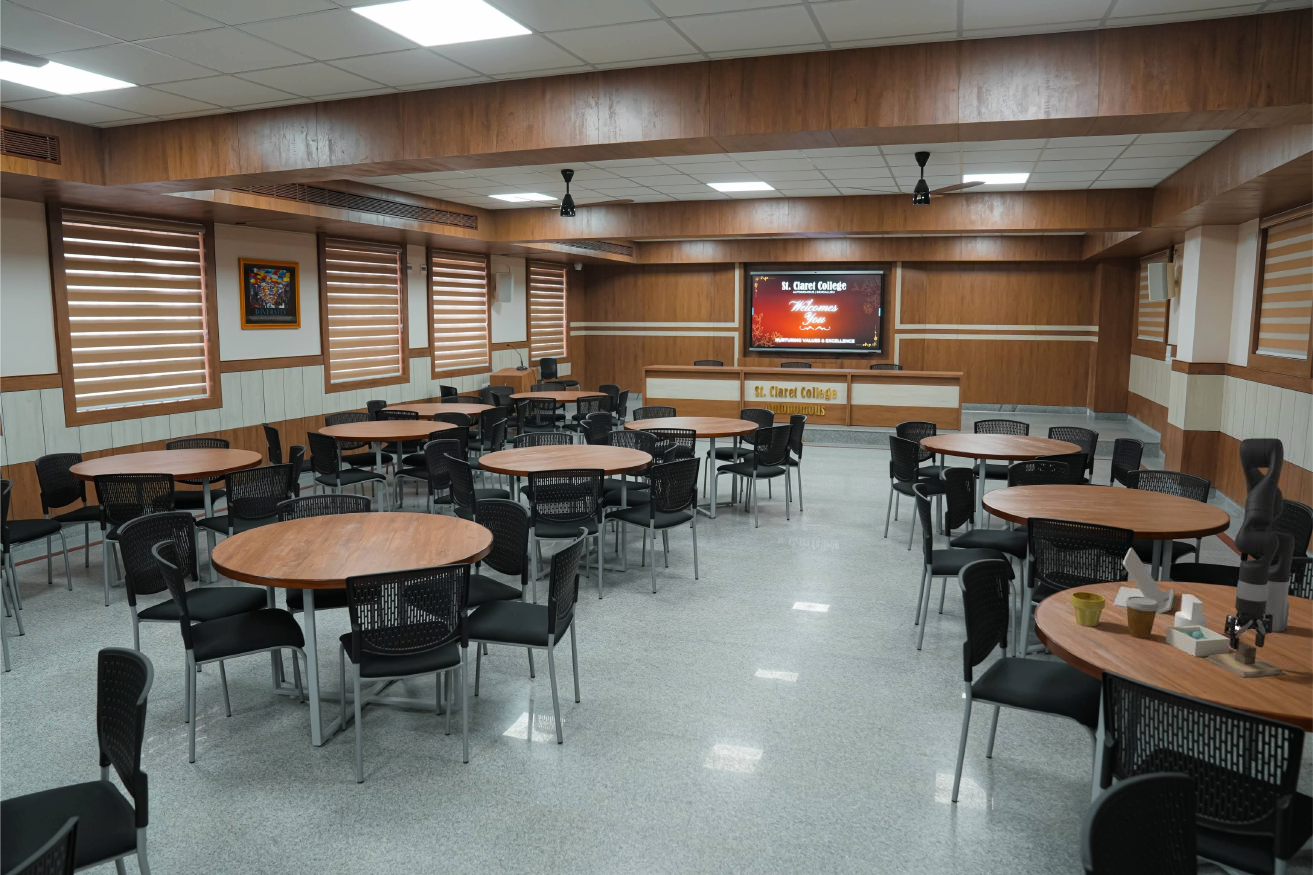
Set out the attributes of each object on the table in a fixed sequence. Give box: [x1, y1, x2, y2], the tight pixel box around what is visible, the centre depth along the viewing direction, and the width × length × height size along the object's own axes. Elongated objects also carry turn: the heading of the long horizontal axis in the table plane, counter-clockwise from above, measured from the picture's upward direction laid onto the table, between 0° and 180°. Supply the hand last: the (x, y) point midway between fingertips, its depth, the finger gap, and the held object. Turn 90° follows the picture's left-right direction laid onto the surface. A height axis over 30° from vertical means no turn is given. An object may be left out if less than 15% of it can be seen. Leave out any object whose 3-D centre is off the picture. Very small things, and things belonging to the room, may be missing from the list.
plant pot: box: [1070, 591, 1106, 627], centre depth 293 cm, size 10×10×10 cm
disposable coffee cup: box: [1125, 596, 1158, 639], centre depth 282 cm, size 10×10×12 cm
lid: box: [1208, 642, 1283, 675], centre depth 257 cm, size 13×13×6 cm
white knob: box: [1173, 593, 1208, 628], centre depth 283 cm, size 9×9×12 cm
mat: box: [1205, 656, 1285, 678], centre depth 257 cm, size 14×14×1 cm
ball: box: [1192, 631, 1204, 640], centre depth 274 cm, size 3×3×3 cm
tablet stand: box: [1113, 547, 1176, 614], centre depth 315 cm, size 18×25×17 cm
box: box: [1165, 625, 1230, 658], centre depth 271 cm, size 12×12×5 cm
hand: (1246, 647), depth 256 cm, fingers open, 8 cm apart
